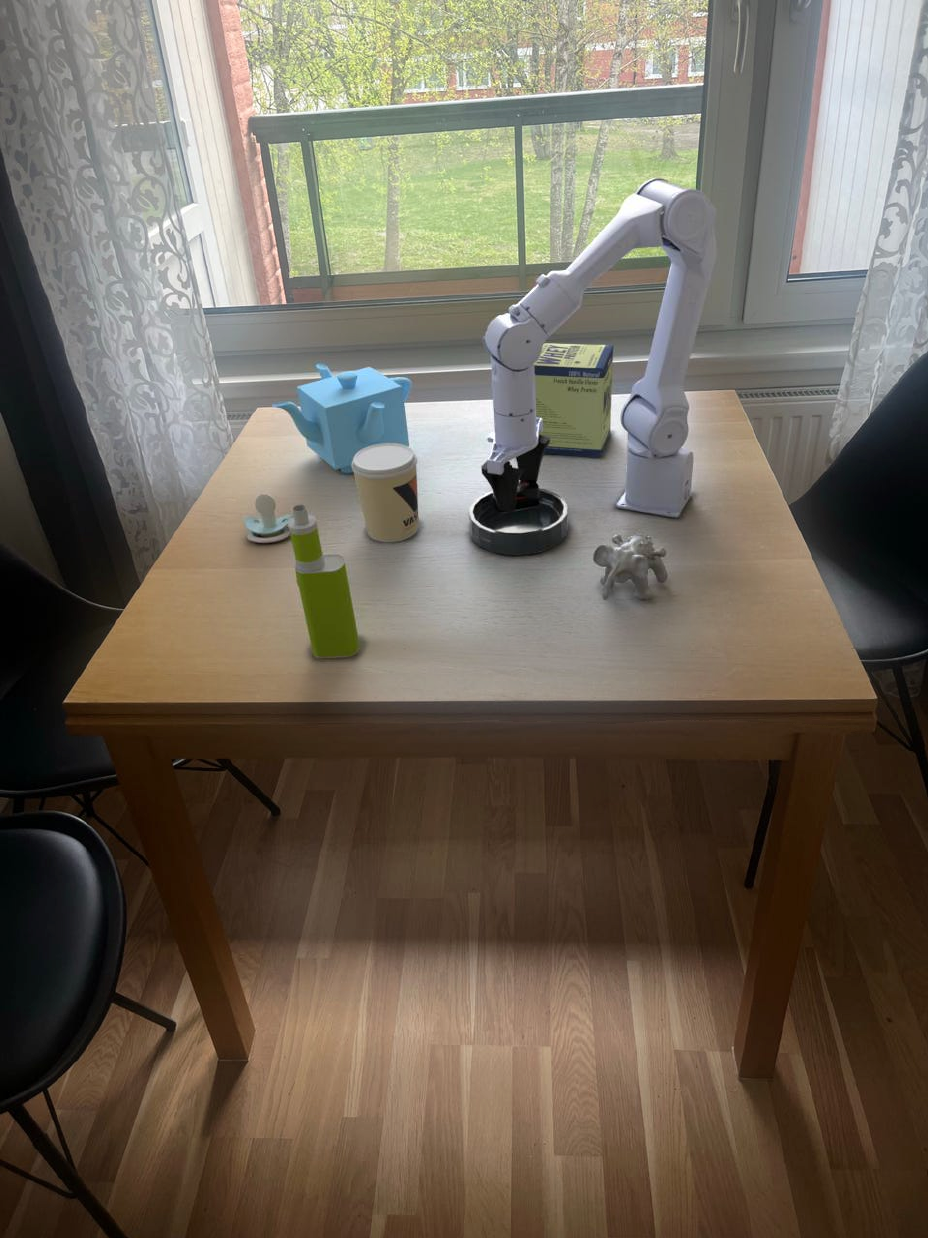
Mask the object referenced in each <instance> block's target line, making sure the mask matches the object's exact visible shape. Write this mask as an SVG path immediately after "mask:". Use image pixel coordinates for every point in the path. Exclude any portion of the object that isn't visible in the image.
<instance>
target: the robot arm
mask: <svg viewBox="0 0 928 1238" xmlns="http://www.w3.org/2000/svg"><path fill="white" fill-rule="evenodd" d="M717 212H718V211H717V209H716V208H715V207H714V205H713V204H712V202H711V201H710V199H708V197H707V195H706V194H705V193H704V192H702V191H701V190H699V189H696V188H688V187H685V186H682V185H680V184H676V183H674V182H670V181H668V180H667V179H665V178H662V177H654V178H650V179H649V180H646V181H645V182H643V183H642V184H641V185H640V186H639V187H638V188H637V190H636V191H635V193H632V194H631V195H629V196H627V198H625V200H624V201H623V203H622V205H621V207H620V209H619V211H618V213H617V214H616V215H615V217H613V219H612V220H611V221H610V222H609V223H608V224H607V225H606V226H605V227H604V228H603V229H602V230H601V231H600V232H599V234H597V236H596V237H595V238H593V240H592V241H591V242H590V244H588V245H587V246H586V248H584V250H583V251H582V252H581V253H580V254H579V255H578V256H577V257H576V259H574V260H573V262H572V263H571V264H570V265H569V266H568V267H567V268H566V269H565V270H552V271H550V272H548V274H547V275H545V274H543V273H542V274H541V275H540V276H539V277H538V278H537V279H536V280H535V283H536V285H535V286H534V287H533V288H532V289H531V290H530V291H529V292H528V293H527V294H526V295H525V296H524V297H523V298H522V299H521V300H520V301H519V302H518V303H517V304H512V305H511V306H510V307H509V308H508V312H509V313H504V314H500V315H498V316H495V318H493V319H492V320H491V322H490V323H489V325H488V326H487V327H486V329H487V330H486V331H485V334H484V336H483V337H482V343H483V347H484V349H485V351H487V353H488V354H489V355H490V356H491V357H490V365H491V390H492V391H491V393H492V409H493V425H494V427H493V428H494V431H492V432H490V434H489V435H487V442H488V443H492V446H491V450H490V454H489V457H488V458H487V459H486V461H485V462H484V463H483V464H482V465H481V467H480V468H481V475H482V476H483V477H484V478H485V479H486V481H487V482H488V484H489V486H490V488H491V490H492V491H493V492H494V495H495V497H496V500H497V503H498V506H499V509H500V510H502V511H507V512H513V511H514V510H515V507H516V500H517V489H518V484H519V482H520V481H525V480H531V479H533V480H535V481H536V482H537V483H538V479H539V475H540V469H541V466H542V461H543V458H544V456H545V454H544V453H545V450H546V448H547V446H548V445H549V443H550V438H549V437H547V436H543V435H539V433H541V432H542V431H543V419H542V418H536V397H535V368H534V363H535V362H536V361H537V360H538V359H539V357H540V355H541V352H542V347H543V344H544V343H546V342H547V341H548V338H549V337H550V336H551V335H553V333H555V332H556V331H557V330H558V329H559V328H560V327H561V326H562V325H563V324H564V323H565V322H566V321H567V320H568V319H570V317H571V316H572V315H574V314H575V313H576V312H577V310H579V309H580V308H581V307H582V303H583V296H584V292H585V290H586V289H588V288H589V287H590V286H591V285H593V284H594V283H595V282H596V281H597V280H598V279H599V278H600V277H602V276H603V275H604V274H605V273H606V272H608V271H609V270H610V269H611V268H613V267H614V266H615V265H616V264H617V263H618V262H619V261H621V260H622V259H623V258H624V257H626V256H627V255H628V254H629V253H630V252H631V251H632V250H635V249H645V248H660V247H661V248H662V250H663V251H664V253H665V254H666V256H667V257H668V258H669V259H670V266H669V271H668V276H667V280H666V284H665V288H664V292H663V297H662V301H661V304H660V309H659V313H658V318H657V322H656V326H655V330H654V334H653V339H652V342H651V343H652V344H651V346H650V352H649V355H648V360H647V365H646V368H645V373H644V377H643V378H641V379H639V380H638V381H637V382H635V383H634V384H633V385H632V389H631V393H630V394H629V397H628V399H627V400H626V402H625V403H624V405H623V407H622V409H621V412H620V424H621V426H622V428H623V429H624V430H625V431H626V432H627V450H626V472H625V473H626V475H625V491H624V493H623V494H622V496H621V497H620V498H619V499H618V501H617V502H616V505H615V507H616V508H618V509H623V510H629V511H635V512H640V513H644V514H645V513H646V514H652V515H658V516H664V517H668V518H669V517H670V518H679V517H680V515H681V513H682V511H683V509H684V508H685V507H686V504H687V503H688V501H689V499H690V498H691V496H692V481H693V470H694V451H691V450H688V449H686V448H682V447H683V446H684V445H685V443H686V441H687V439H688V436H689V431H690V430H689V429H690V428H689V424H688V414H689V411H690V405H689V404H690V403H689V401H688V399H687V396H686V392H685V390H684V382H685V378H686V376H687V375H686V374H687V370H688V367H689V363H690V359H691V357H692V351H693V348H694V344H695V340H696V336H697V333H698V328H699V326H700V325H699V324H700V321H701V318H702V315H703V314H702V313H703V309H704V305H705V302H706V299H707V294H708V291H709V287H710V283H711V280H712V275H713V271H714V268H715V263H716V260H717V254H718V247H717V241H716V234H715V227H714V224H715V220H716V216H717ZM514 459H515V460H516V463H517V464H516V465H517V467H513V464H511V461H512V460H514Z"/></svg>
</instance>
